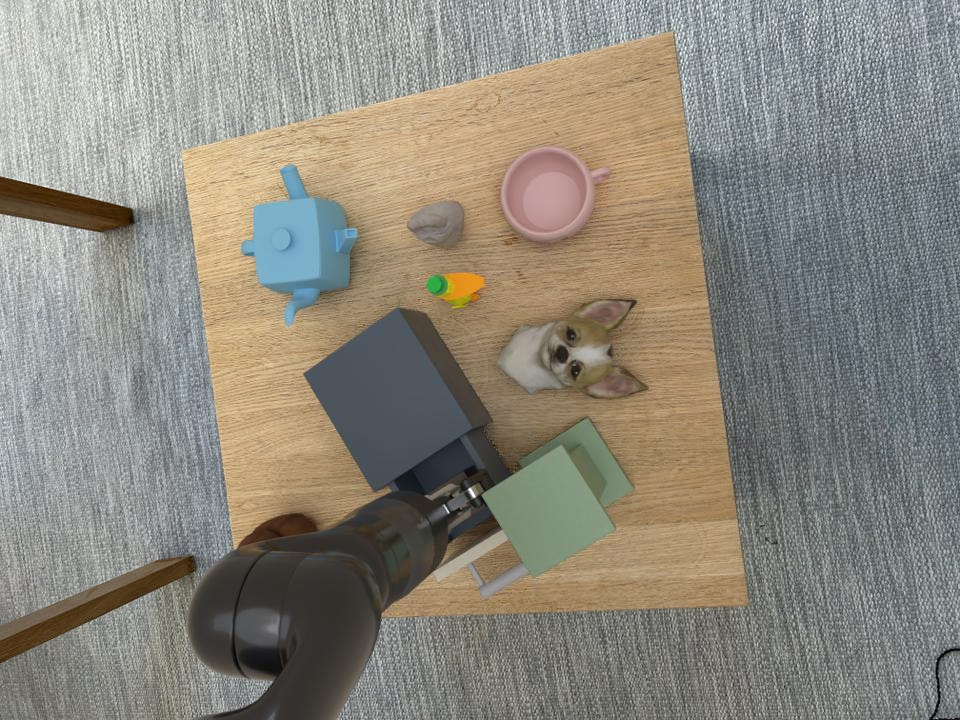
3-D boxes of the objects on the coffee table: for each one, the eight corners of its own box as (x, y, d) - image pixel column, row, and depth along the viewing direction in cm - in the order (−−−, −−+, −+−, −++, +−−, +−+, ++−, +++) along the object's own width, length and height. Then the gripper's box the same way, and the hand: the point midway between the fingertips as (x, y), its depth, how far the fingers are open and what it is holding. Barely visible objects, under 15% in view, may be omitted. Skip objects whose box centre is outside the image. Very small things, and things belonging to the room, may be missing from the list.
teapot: (267, 184, 92) (220, 163, 82) (377, 169, 89) (342, 145, 79) (277, 333, 92) (231, 330, 82) (388, 324, 89) (353, 319, 79)
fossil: (466, 205, 87) (441, 185, 77) (483, 230, 86) (460, 213, 76) (425, 235, 88) (395, 219, 78) (441, 260, 87) (413, 247, 78)
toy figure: (499, 273, 86) (473, 259, 74) (503, 305, 86) (478, 296, 74) (441, 282, 87) (407, 270, 76) (445, 313, 87) (412, 306, 76)
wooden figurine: (318, 502, 91) (252, 529, 76) (332, 549, 90) (268, 585, 76) (268, 517, 92) (195, 546, 78) (282, 564, 92) (210, 602, 77)
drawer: (563, 545, 83) (554, 564, 76) (478, 596, 85) (460, 619, 78) (476, 406, 85) (458, 411, 78) (395, 460, 88) (370, 469, 80)
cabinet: (493, 420, 86) (473, 428, 77) (404, 478, 88) (373, 492, 79) (425, 312, 88) (397, 306, 78) (339, 372, 90) (302, 373, 81)
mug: (525, 261, 85) (515, 254, 79) (496, 178, 86) (484, 165, 80) (629, 220, 82) (627, 210, 77) (598, 135, 83) (593, 118, 77)
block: (495, 499, 84) (486, 507, 79) (462, 520, 85) (451, 529, 80) (473, 464, 84) (463, 470, 80) (440, 485, 85) (428, 492, 81)
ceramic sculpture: (486, 310, 77) (638, 289, 74) (499, 314, 85) (635, 296, 83) (500, 415, 77) (652, 398, 74) (511, 409, 85) (648, 394, 83)
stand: (634, 487, 82) (625, 532, 61) (564, 529, 84) (531, 587, 63) (588, 416, 83) (563, 435, 62) (520, 459, 85) (472, 492, 64)
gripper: (340, 634, 61) (406, 577, 76) (487, 543, 58) (525, 504, 74) (292, 551, 61) (368, 512, 77) (435, 458, 59) (483, 438, 75)
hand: (444, 508), depth 75 cm, fingers open, 8 cm apart
